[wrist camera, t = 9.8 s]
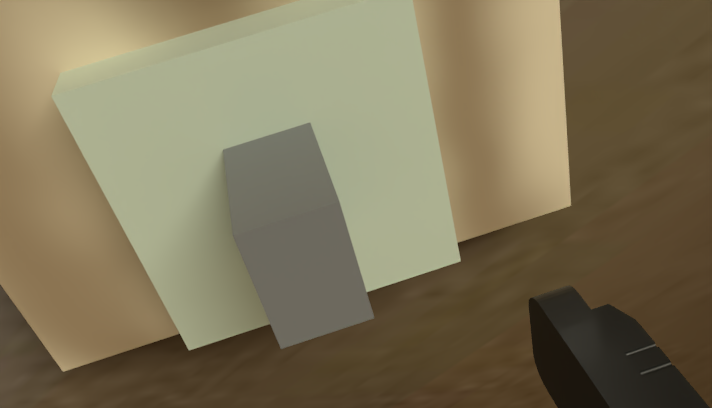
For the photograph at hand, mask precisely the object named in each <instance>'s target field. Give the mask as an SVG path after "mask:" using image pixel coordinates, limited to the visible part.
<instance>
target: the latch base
mask: <svg viewBox="0 0 712 408" xmlns="http://www.w3.org/2000/svg"><path fill="white" fill-rule="evenodd" d="M295 1H299V0H0V285H1V286H2V287H3V289H4V290H5V291H6V293H7V294H8V296H9V297H10V298H11V300H12V301H13V303H14V304H15V305H16V307H17V308H18V310H19V311H20V312H21V314H22V315H23V317H24V318H25V319H26V321H27V322H28V324H29V325H30V326H31V328H32V329H33V331H34V332H35V333H36V335H37V336H38V337H39V339H40V340H41V342H42V343H43V344H44V346H45V347H46V349H47V350H48V351H49V353H50V354H51V356H52V357H53V358H54V360H55V361H56V363H57V364H58V365H59V367H60V368H61V370H62V371H63V372H64V371H67V370H70V369H73V368H76V367H79V366H82V365H85V364H88V363H91V362H95V361H98V360H101V359H104V358H107V357H110V356H113V355H116V354H119V353H122V352H125V351H128V350H131V349H134V348H137V347H140V346H143V345H147V344H150V343H153V342H156V341H159V340H162V339H165V338H168V337H171V336H174V335H177V334H180V333H179V331H178V329H177V327H176V326H175V324H174V322H173V320H172V318H171V316H170V315H169V313H168V311H167V309H166V307H165V305H164V303H163V302H162V300H161V298H160V296H159V294H158V292H157V291H156V289H155V287H154V285H153V283H152V281H151V279H150V278H149V276H148V274H147V272H146V270H145V268H144V267H143V265H142V263H141V261H140V259H139V257H138V256H137V254H136V252H135V250H134V248H133V246H132V244H131V243H130V241H129V239H128V237H127V235H126V233H125V232H124V230H123V228H122V226H121V224H120V222H119V220H118V219H117V217H116V215H115V213H114V211H113V209H112V208H111V206H110V204H109V202H108V200H107V198H106V196H105V195H104V193H103V191H102V189H101V187H100V185H99V184H98V182H97V180H96V178H95V176H94V174H93V172H92V171H91V169H90V167H89V165H88V163H87V161H86V160H85V158H84V156H83V154H82V152H81V150H80V148H79V147H78V145H77V143H76V141H75V139H74V137H73V136H72V134H71V132H70V130H69V128H68V126H67V124H66V123H65V121H64V119H63V117H62V115H61V113H60V112H59V110H58V108H57V106H56V104H55V102H54V101H53V99H52V97H51V95H52V93H53V90H54V88H55V85H56V83H57V80H58V77H59V75H60V73H62V72H65V71H68V70H72V69H75V68H78V67H81V66H85V65H88V64H91V63H95V62H98V61H101V60H104V59H108V58H111V57H114V56H118V55H121V54H124V53H127V52H131V51H134V50H137V49H141V48H144V47H147V46H151V45H154V44H157V43H160V42H164V41H167V40H170V39H174V38H177V37H180V36H183V35H187V34H190V33H193V32H197V31H200V30H203V29H206V28H210V27H213V26H216V25H220V24H223V23H226V22H229V21H233V20H236V19H239V18H243V17H246V16H249V15H252V14H256V13H259V12H262V11H266V10H269V9H272V8H275V7H279V6H282V5H285V4H289V3H292V2H295ZM413 5H414V10H415V16H416V21H417V27H418V32H419V37H420V43H421V48H422V54H423V59H424V65H425V70H426V75H427V81H428V86H429V92H430V97H431V103H432V108H433V113H434V119H435V124H436V130H437V135H438V141H439V146H440V151H441V157H442V162H443V168H444V173H445V179H446V184H447V189H448V195H449V200H450V206H451V211H452V217H453V222H454V228H455V233H456V238H457V243H458V242H461V241H464V240H467V239H471V238H474V237H477V236H480V235H483V234H486V233H489V232H492V231H495V230H498V229H501V228H504V227H507V226H510V225H513V224H516V223H519V222H523V221H526V220H529V219H532V218H535V217H538V216H541V215H544V214H547V213H550V212H553V211H556V210H559V209H562V208H565V207H568V206H571V197H570V180H569V162H568V145H567V127H566V110H565V92H564V75H563V58H562V40H561V23H560V5H559V0H413Z"/></svg>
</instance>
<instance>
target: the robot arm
mask: <svg viewBox="0 0 712 408" xmlns="http://www.w3.org/2000/svg"><path fill="white" fill-rule="evenodd" d="M529 313H530V324H531V334H532V345H533V354H534V359H535V363H536V366H537V369H538V372H539V375H540V377H541V379H542V381H543V383H544V385H545V387H546V389H547V390H548V392H549V394H550V395H551V397H552V399H553V400H554V402H555V404H556V405H557V407H558V408H710V407H709V406H708V405H707V404H706V403H705V401H704V400H703V399H702V398H701V397H700V396H699V394H698V393H697V392H696V391H695V390H694V388H693V387H692V386H691V385H690V384H689V382H688V381H687V380H686V379H685V378H684V377H683V375H682V374H681V373H680V372H679V371H678V369H677V368H676V367H675V366H672V364H671V362H670V360H669V359H668V357H667V356H666V355H665V354H664V353H663V352H662V350H661V349H660V348H659V347H656V345H655V342H654V341H653V340H652V338H651V337H650V336H649V335H648V334H647V333H646V331H645V330H644V329H643V328H642V327H641V325H640V324H639V323H638V322H637V321H636V320H635V319H633V318H632V317H630V316H628V315H627V314H625V313H623V312H621V311H620V310H618V309H616V308H615V307H613V306H611V305H609V304H607V305H604V306H601V307H598V308H595V309H592V310H591V309H590V308H589V306H588V305H587V304H586V302H585V301H584V300H583V299H582V297H581V296H580V295H579V293H578V292H577V291H576V290H575V289H574V288H573V287H571V286H565V287H562V288H559V289H556V290H553V291H550V292H547V293H544V294H541V295H538V296H535V297H532V298H530V299H529Z"/></svg>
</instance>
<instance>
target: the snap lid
mask: <svg viewBox="0 0 712 408" xmlns="http://www.w3.org/2000/svg"><path fill="white" fill-rule="evenodd" d="M51 97H52V99H53V101H54V102H55V104H56V106H57V108H58V110H59V112H60V113H61V115H62V117H63V119H64V121H65V123H66V124H67V126H68V128H69V130H70V132H71V134H72V136H73V137H74V139H75V141H76V143H77V145H78V147H79V148H80V150H81V152H82V154H83V156H84V158H85V160H86V161H87V163H88V165H89V167H90V169H91V171H92V172H93V174H94V176H95V178H96V180H97V182H98V184H99V185H100V187H101V189H102V191H103V193H104V195H105V196H106V198H107V200H108V202H109V204H110V206H111V208H112V209H113V211H114V213H115V215H116V217H117V219H118V220H119V222H120V224H121V226H122V228H123V230H124V232H125V233H126V235H127V237H128V239H129V241H130V243H131V244H132V246H133V248H134V250H135V252H136V254H137V256H138V257H139V259H140V261H141V263H142V265H143V267H144V268H145V270H146V272H147V274H148V276H149V278H150V279H151V281H152V283H153V285H154V287H155V289H156V291H157V292H158V294H159V296H160V298H161V300H162V302H163V303H164V305H165V307H166V309H167V311H168V313H169V315H170V316H171V318H172V320H173V322H174V324H175V326H176V327H177V329H178V331H179V333H180V335H181V337H182V339H183V340H184V342H185V344H186V346H187V348H188V350H192V349H195V348H198V347H201V346H204V345H207V344H210V343H213V342H217V341H220V340H223V339H226V338H229V337H232V336H235V335H238V334H241V333H244V332H247V331H250V330H253V329H256V328H259V327H262V326H265V325H268V324H271V327H272V329H273V331H274V334H275V336H276V338H277V341H278V343H279V345H280V348H281V349H282V348H285V347H288V346H292V345H295V344H298V343H301V342H304V341H307V340H310V339H313V338H316V337H319V336H322V335H325V334H328V333H331V332H334V331H337V330H340V329H343V328H346V327H349V326H352V325H355V324H358V323H361V322H364V321H367V320H370V319H373V318H374V315H373V312H372V308H371V305H370V302H369V298H368V295H367V292H369V291H372V290H375V289H378V288H381V287H384V286H387V285H390V284H393V283H396V282H399V281H402V280H405V279H408V278H411V277H414V276H417V275H420V274H423V273H426V272H430V271H433V270H436V269H439V268H442V267H445V266H448V265H451V264H454V263H457V262H460V261H461V260H460V255H459V249H458V244H457V238H456V233H455V228H454V222H453V217H452V211H451V206H450V200H449V195H448V189H447V184H446V179H445V173H444V168H443V162H442V157H441V151H440V146H439V141H438V135H437V130H436V124H435V119H434V113H433V108H432V103H431V97H430V92H429V86H428V81H427V75H426V70H425V65H424V59H423V54H422V48H421V43H420V37H419V32H418V27H417V21H416V16H415V10H414V5H413V0H299V1H295V2H292V3H289V4H285V5H282V6H279V7H275V8H272V9H269V10H266V11H262V12H259V13H256V14H252V15H249V16H246V17H243V18H239V19H236V20H233V21H229V22H226V23H223V24H220V25H216V26H213V27H210V28H206V29H203V30H200V31H197V32H193V33H190V34H187V35H183V36H180V37H177V38H174V39H170V40H167V41H164V42H160V43H157V44H154V45H151V46H147V47H144V48H141V49H137V50H134V51H131V52H127V53H124V54H121V55H118V56H114V57H111V58H108V59H104V60H101V61H98V62H95V63H91V64H88V65H85V66H81V67H78V68H75V69H72V70H68V71H65V72H62V73H60V75H59V77H58V80H57V83H56V85H55V88H54V90H53V93H52V95H51Z"/></svg>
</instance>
